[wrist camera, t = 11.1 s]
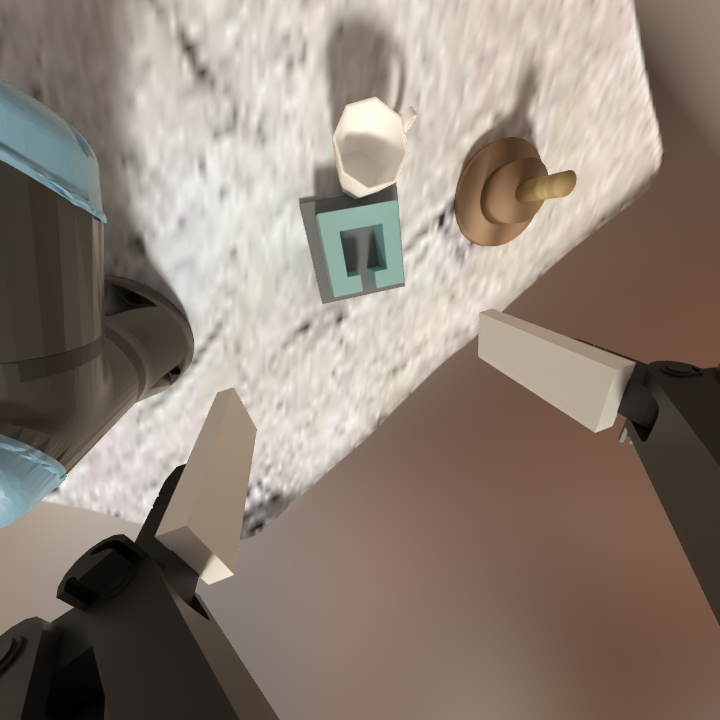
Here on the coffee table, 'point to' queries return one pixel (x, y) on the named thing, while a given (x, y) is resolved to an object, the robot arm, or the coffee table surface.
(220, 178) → the coffee table surface
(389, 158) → the cup
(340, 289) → the link
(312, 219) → the mat
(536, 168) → the stand
